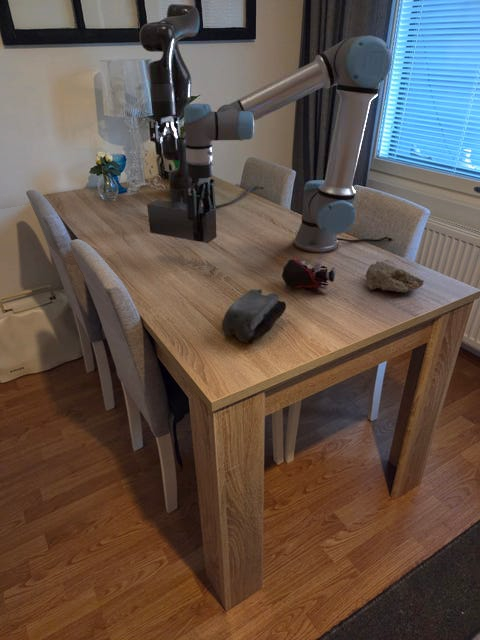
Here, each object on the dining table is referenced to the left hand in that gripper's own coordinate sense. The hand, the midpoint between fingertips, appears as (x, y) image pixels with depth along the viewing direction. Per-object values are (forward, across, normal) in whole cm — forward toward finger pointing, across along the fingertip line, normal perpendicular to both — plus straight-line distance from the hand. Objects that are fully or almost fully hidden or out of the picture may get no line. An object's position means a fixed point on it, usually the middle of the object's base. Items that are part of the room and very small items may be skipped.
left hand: (167, 152), depth 150 cm
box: (+22, -15, -14) cm, 30 cm away
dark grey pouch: (+32, -43, -52) cm, 75 cm away
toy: (+32, -16, -57) cm, 67 cm away
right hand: (+21, -15, -22) cm, 34 cm away
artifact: (+32, -2, -79) cm, 85 cm away
